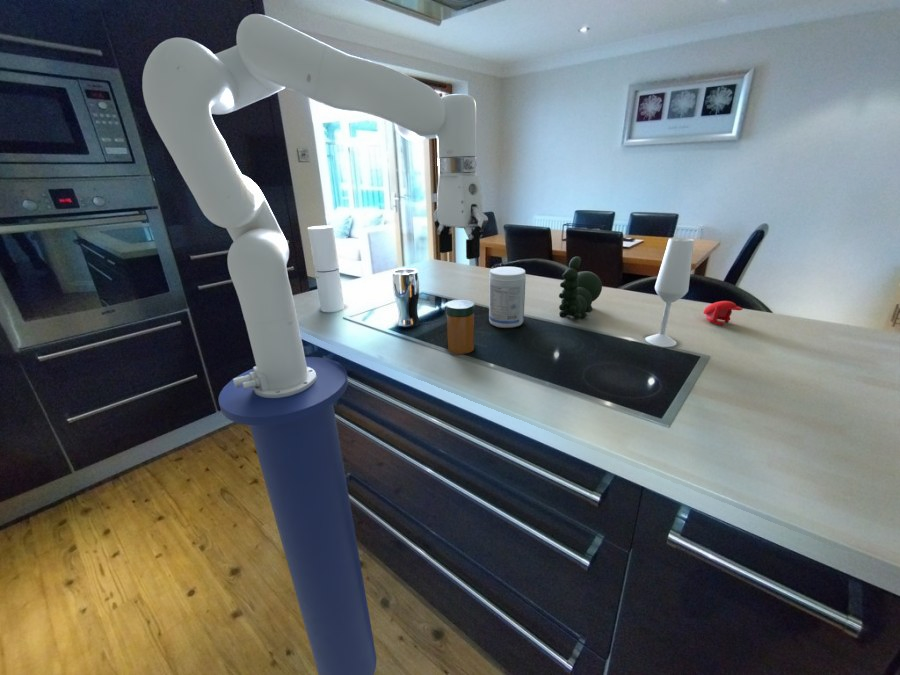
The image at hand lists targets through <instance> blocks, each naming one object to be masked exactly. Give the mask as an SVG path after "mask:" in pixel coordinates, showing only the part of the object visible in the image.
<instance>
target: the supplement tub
mask: <svg viewBox="0 0 900 675" xmlns="http://www.w3.org/2000/svg"><path fill="white" fill-rule="evenodd" d="M488 276H489V278H488V280H489V281H488V284H489V285H488V288H489V289H488V321H489V323H490V324H491V325H492V326H494V327H496V328H500V329H513V328H517V327H519V326H521V325H522V324H523V323H524V320H525V303H526V302H525V301H526V300H525V299H526V282H527V281H526V280H527V279H526V278H527V276H526V270H525V269H524V268H522V267H517V266H497V267H494V268H492V269H490V270H489V275H488Z"/></svg>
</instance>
